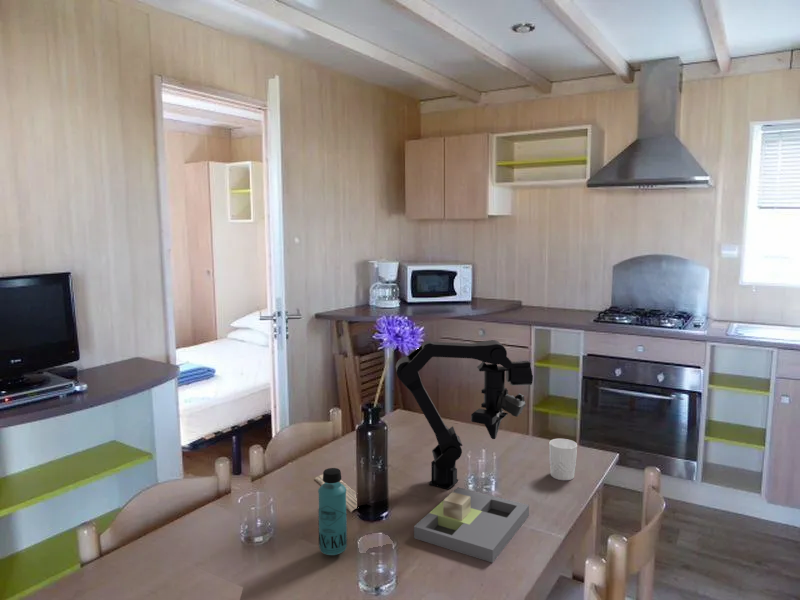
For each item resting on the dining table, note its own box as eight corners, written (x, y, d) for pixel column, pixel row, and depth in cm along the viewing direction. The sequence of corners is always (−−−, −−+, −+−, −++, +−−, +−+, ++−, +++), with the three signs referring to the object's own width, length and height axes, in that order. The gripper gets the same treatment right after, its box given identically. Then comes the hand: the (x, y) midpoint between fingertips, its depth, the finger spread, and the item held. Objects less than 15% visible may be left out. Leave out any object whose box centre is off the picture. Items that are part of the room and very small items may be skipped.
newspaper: (315, 481, 173) (314, 476, 173) (337, 476, 176) (336, 470, 176) (351, 515, 153) (351, 509, 153) (375, 508, 156) (375, 502, 156)
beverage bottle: (319, 546, 137) (317, 464, 134) (348, 545, 137) (346, 463, 135) (318, 562, 130) (315, 477, 128) (348, 561, 131) (346, 475, 128)
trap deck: (414, 538, 140) (413, 526, 140) (457, 497, 161) (457, 487, 160) (492, 562, 130) (492, 550, 130) (528, 516, 150) (529, 504, 150)
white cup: (577, 482, 169) (578, 449, 168) (549, 480, 171) (549, 447, 169) (574, 471, 177) (575, 439, 175) (547, 469, 178) (548, 437, 177)
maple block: (443, 515, 145) (443, 500, 144) (452, 507, 149) (452, 492, 149) (461, 520, 142) (462, 505, 142) (470, 511, 147) (470, 496, 146)
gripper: (509, 398, 154) (508, 455, 156) (532, 381, 170) (531, 433, 172) (470, 392, 160) (470, 447, 162) (496, 376, 176) (496, 426, 178)
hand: (493, 438), depth 168 cm, fingers closed
